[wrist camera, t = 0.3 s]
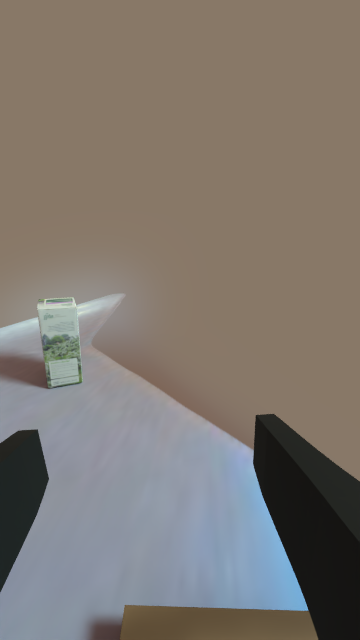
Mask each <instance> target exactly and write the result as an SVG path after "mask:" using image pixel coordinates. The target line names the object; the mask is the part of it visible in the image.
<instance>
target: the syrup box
mask: <svg viewBox="0 0 360 640" xmlns="http://www.w3.org/2000/svg"><path fill="white" fill-rule="evenodd" d="M37 309H38V319H39V326H40V333H41V341H42V348H43V355H44V362H45V370H46V377H47V385H48V388H54V387H59V386H65V385H71V384H76V383H81V382H83V379H82V366H81V354H80V341H79V328H78V314H77V307H76V304H75V301H74V298H73V297H70V298H55V299H39V300H38V306H37Z"/></svg>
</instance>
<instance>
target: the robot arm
mask: <svg viewBox="0 0 360 640" xmlns="http://www.w3.org/2000/svg"><path fill="white" fill-rule="evenodd" d="M253 465H254V469H255V472H256V476H257V479H258V482H259V486H260V489H261V492H262V496H263V498H264V501H265V503H266V506H267V508H268V511H269V513H270V515H271V518H272V520H273V523H274V525H275V527H276V530H277V532H278V535H279V537H280V539H281V542H282V544H283V547H284V549H285V551H286V554H287V556H288V559H289V561H290V563H291V566H292V568H293V571H294V573H295V575H296V578H297V580H298V583H299V585H300V588H301V591H302V593H303V596H304V599H305V601H306V604H307V607H308V610H309V613H310V616H311V619H312V622H313V625H314V628H315V631H316V634H317V637H318V640H360V481H358V480H357V479H355V478H354V477H353V476H351V475H350V474H349V473H347V472H346V471H344V470H343V469H342V468H340V467H339V466H338V465H336V464H335V463H334V462H332V461H331V460H330V459H329V458H327V457H326V456H325V455H323V454H322V453H321V452H320V451H318V450H317V449H316V448H315V447H313V446H312V445H311V444H310V443H308V442H307V441H306V440H305V439H303V438H302V437H301V436H300V435H299V434H297V433H296V432H295V431H294V430H293V429H291V428H290V427H289V426H288V425H287V424H286V423H284V422H283V421H282V420H281V419H279V418H278V417H277V416H276V415H274V414H266V415H256V422H255V440H254V458H253ZM48 480H49V477H48V473H47V468H46V464H45V460H44V455H43V451H42V447H41V442H40V438H39V434H38V429H37V430H22V431H17V432H16V433H14V434H13V435H11V436H10V437H9V438H7V439H6V440H4V441H3V442H2V443H0V592H1V590H2V588H3V586H4V584H5V581H6V579H7V577H8V575H9V573H10V571H11V569H12V567H13V564H14V562H15V560H16V558H17V556H18V554H19V552H20V550H21V548H22V545H23V543H24V541H25V539H26V537H27V535H28V532H29V530H30V528H31V526H32V524H33V522H34V519H35V517H36V515H37V513H38V510H39V507H40V504H41V501H42V499H43V496H44V492H45V489H46V486H47V483H48Z"/></svg>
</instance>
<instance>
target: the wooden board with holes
mask: <svg viewBox="0 0 360 640" xmlns="http://www.w3.org/2000/svg"><path fill="white" fill-rule="evenodd" d="M120 640H318V637H317V634H316V631H315V628H314V625H313V622H312V619H311V616H310V613H309V611H290V610H259V609H229V608H198V607H168V606H137V605H125V607H124V614H123V621H122V628H121V634H120Z"/></svg>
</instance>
